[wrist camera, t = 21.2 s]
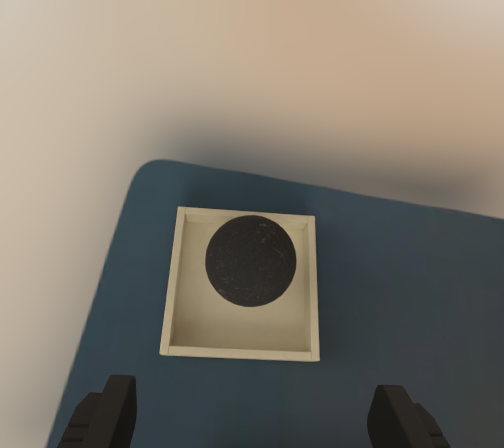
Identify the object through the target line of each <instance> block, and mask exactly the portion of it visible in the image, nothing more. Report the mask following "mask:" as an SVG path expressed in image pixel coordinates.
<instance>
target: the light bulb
mask: <svg viewBox="0 0 504 448" xmlns="http://www.w3.org/2000/svg"><path fill="white" fill-rule="evenodd" d="M296 265H297V258H296V251H295V248H294V244H293V242H292V240H291V238H290V236H289V235H288V234H287V232H286V231H285V230H284V229H283V228H282V227H281V226H280V225H279V224H277V223H276V222H274V221H272V220H270V219H268V218H265V217H263V216H257V215H245V216H240V217H236V218H234V219H231V220H229V221H227V222H226V223H225V224H223V225H222V226H221V227H220V228H219V229H218V230H217V231H216V232H215V233H214V235H213V236H212V238H211V239H210V241H209V244H208V247H207V249H206V257H205V268H206V273H207V276H208V279H209V281H210V283H211V285H212V286H213V287H214V289H215V290H216V292H217V293H219V294H220V295H221V296H222V297H223V298H224V299H225V300H227V301H229V302H231V303H233V304H235V305H238V306H242V307H258V306H263V305H266V304H269V303H271V302H273V301H275V300H276V299H277V298H279V297H280V296H282V294H283V293H284V292H285V291H286V290H287V289H288V287H289V286H290V284H291V282H292V280H293V277H294V275H295V271H296Z"/></svg>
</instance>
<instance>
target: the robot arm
mask: <svg viewBox="0 0 504 448" xmlns="http://www.w3.org/2000/svg"><path fill="white" fill-rule="evenodd" d="M136 416H137V398H136V378H135V376H128V375H111V376H110V377H109V378H108V381H107V383H106V386H105V388H104V390H103V393H89V394H88V395H87V396H86V397H85V398H84V399H83V400H82V401H81V403H80V404H79V405H78V406H77V407H76V409H75V411H74V413H73V415H72V417H71V419H70V421H69V423H68V427H67V428H66V430H65V432H64V434H63V436H62V440H61V441H60V442H59V444H58V447H57V448H129V447H130V443H131V440H132V436H133V432H134V428H135V423H136ZM367 428H368V434H369V437H370V440H371V443H372V445H373V448H450V445H449V444H448V442H447V440H446V439H445V437H443V435H442V434H443V433H442V432H441V430H440V428H439V426H438V425H437V423H436V421H435V420H434V418H433V417H432V416H431V415H430V414H429V413H428V412H427V411H426V410H425V409H424V408H423V407H422V406H421V405H420V404H419V403H412V401H411V399H410V397H409V396H408V394H407V392H406V390H405V389H404V388H403V387H402V386H396V385H378V386H377V388H376V391H375V394H374V397H373V401H372V404H371V407H370V411H369V414H368V418H367Z"/></svg>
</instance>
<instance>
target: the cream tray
mask: <svg viewBox="0 0 504 448" xmlns="http://www.w3.org/2000/svg"><path fill="white" fill-rule="evenodd" d="M245 215H257V216H263V217H265V218H268V219H270V220H272V221H274V222H276V223H277V224H279V225H280V226H281V227H282V228H283V229H284V230H285V231H286V232H287V234H288V235H289V236H290V238H291V240H292V242H293V244H294V248H295V251H296V258H297V265H296V271H295V275H294V277H293V280H292V282H291V284H290V286H289V287H288V289H287V290H286V291H285V292H284V293H283V294H282V296H280V297H279V298H277V299H276V300H275V301H273V302H271V303H269V304H266V305H263V306H258V307H242V306H238V305H235V304H233V303H231V302H229V301H227V300H225V299H224V298H223V297H222V296H221V295H220V294H219V293H217V292H216V290H215V289H214V287H213V286H212V285H211V283H210V281H209V279H208V276H207V273H206V268H205V257H206V249H207V247H208V244H209V241H210V239H211V238H212V236H213V235H214V233H215V232H216V231H217V230H218V229H219V228H220V227H221V226H222V225H223V224H225V223H226V222H227V221H229V220H231V219H234V218H236V217H240V216H245ZM160 354H161V355H165V356H189V357H213V358H237V359H261V360H285V361H309V362H312V361H319V360H320V359H319V329H318V299H317V269H316V239H315V216H304V215H290V214H276V213H262V212H248V211H234V210H219V209H205V208H191V207H186V208H185V207H178V211H177V219H176V227H175V235H174V243H173V251H172V259H171V267H170V274H169V282H168V290H167V298H166V306H165V314H164V322H163V330H162V338H161V346H160Z"/></svg>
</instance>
